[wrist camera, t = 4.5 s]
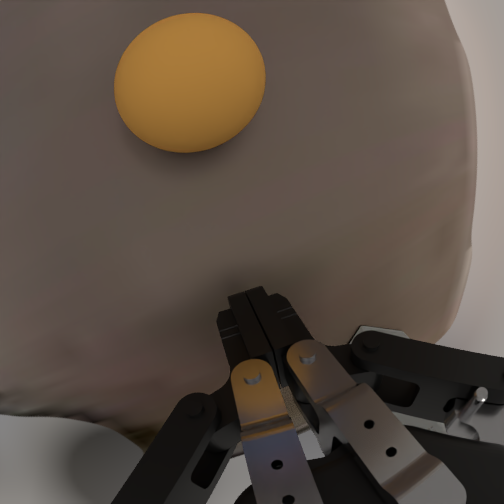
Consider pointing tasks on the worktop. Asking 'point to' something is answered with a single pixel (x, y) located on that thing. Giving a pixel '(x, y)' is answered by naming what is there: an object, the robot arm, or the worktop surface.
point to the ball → (189, 82)
